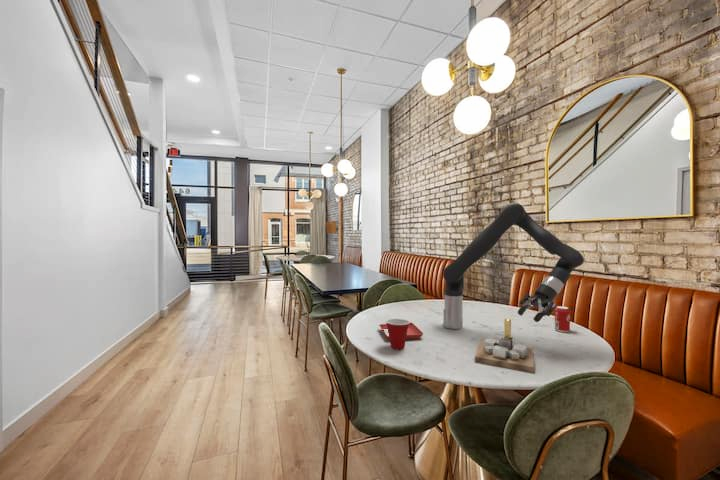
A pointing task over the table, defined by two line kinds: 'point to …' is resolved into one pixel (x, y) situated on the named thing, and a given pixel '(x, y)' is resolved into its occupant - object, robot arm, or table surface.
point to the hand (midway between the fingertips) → (527, 317)
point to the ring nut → (504, 349)
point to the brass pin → (507, 329)
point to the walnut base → (517, 364)
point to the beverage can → (562, 319)
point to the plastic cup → (397, 332)
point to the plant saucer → (411, 331)
